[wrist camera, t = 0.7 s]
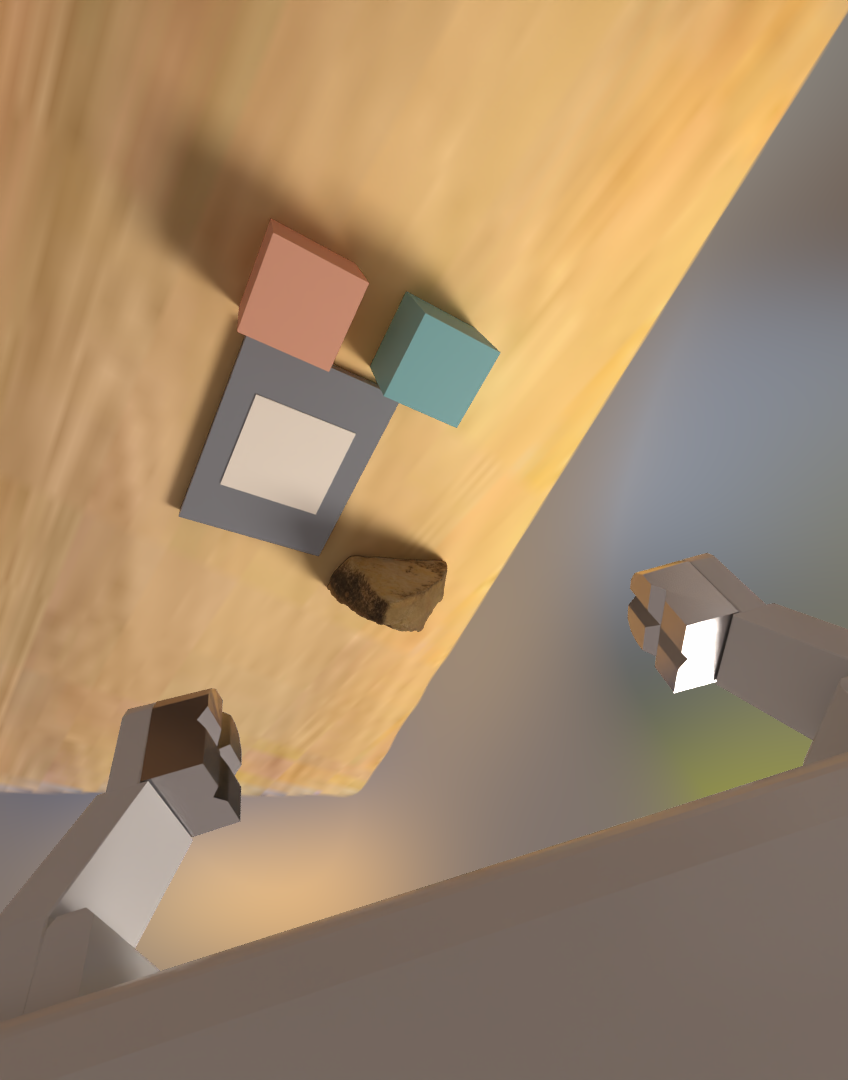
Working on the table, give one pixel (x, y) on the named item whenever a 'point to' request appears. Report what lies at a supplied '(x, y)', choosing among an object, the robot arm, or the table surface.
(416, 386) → the teal block
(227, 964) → the robot arm
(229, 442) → the grey flat plate
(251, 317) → the terracotta block
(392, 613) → the rock
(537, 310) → the table surface
